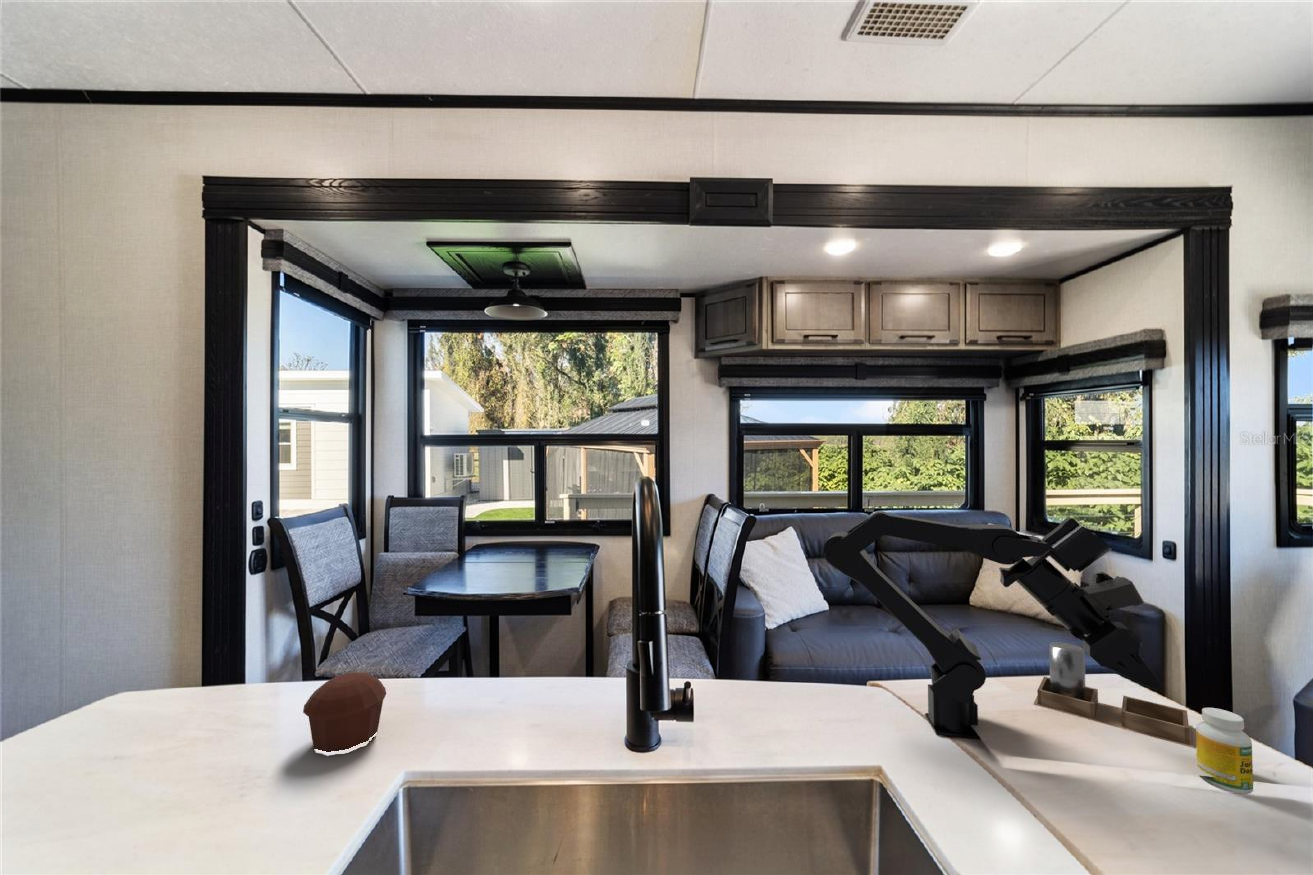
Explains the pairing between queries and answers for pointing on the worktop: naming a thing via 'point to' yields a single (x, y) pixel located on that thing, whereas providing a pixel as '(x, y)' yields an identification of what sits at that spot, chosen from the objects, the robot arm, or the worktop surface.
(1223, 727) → the supplement bottle
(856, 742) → the worktop surface
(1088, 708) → the wooden compartment tray
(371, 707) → the muffin
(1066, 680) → the graphite billet
